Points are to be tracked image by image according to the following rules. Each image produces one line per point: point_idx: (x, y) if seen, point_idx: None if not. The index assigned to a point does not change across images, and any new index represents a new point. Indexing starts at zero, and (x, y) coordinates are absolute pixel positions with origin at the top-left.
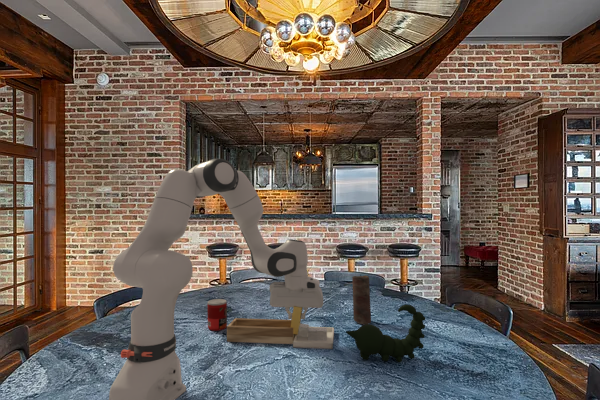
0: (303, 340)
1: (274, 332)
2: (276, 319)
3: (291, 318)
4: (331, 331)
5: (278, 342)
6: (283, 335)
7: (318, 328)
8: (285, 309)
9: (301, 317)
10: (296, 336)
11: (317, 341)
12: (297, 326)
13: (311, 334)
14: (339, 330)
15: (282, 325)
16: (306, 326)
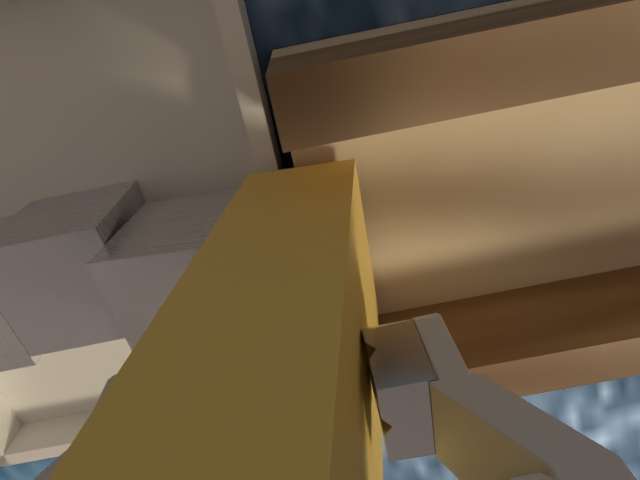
0: (180, 158)
1: (582, 1)
2: (619, 374)
3: (375, 326)
4: (30, 423)
5: (456, 14)
6: (414, 29)
7: (5, 338)
8: (622, 469)
9: None
10: (253, 145)
11: (12, 175)
12: (235, 221)
13: (64, 216)
14: (7, 467)
15: (501, 315)
16: (133, 300)
